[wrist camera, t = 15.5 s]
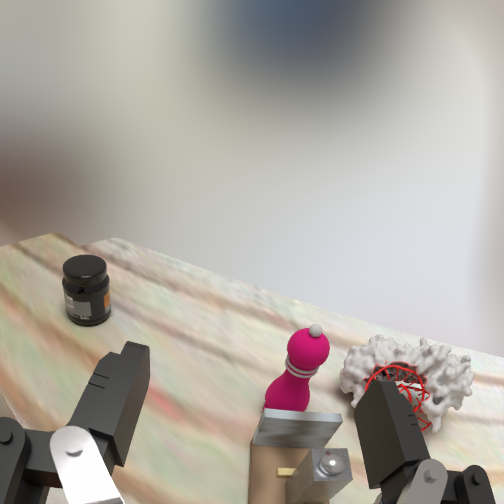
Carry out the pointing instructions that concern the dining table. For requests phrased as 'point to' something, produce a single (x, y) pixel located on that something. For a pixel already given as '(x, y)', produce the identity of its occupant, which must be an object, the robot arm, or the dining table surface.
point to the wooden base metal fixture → (284, 449)
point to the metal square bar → (319, 476)
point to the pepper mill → (298, 370)
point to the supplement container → (86, 289)
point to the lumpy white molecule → (410, 373)
